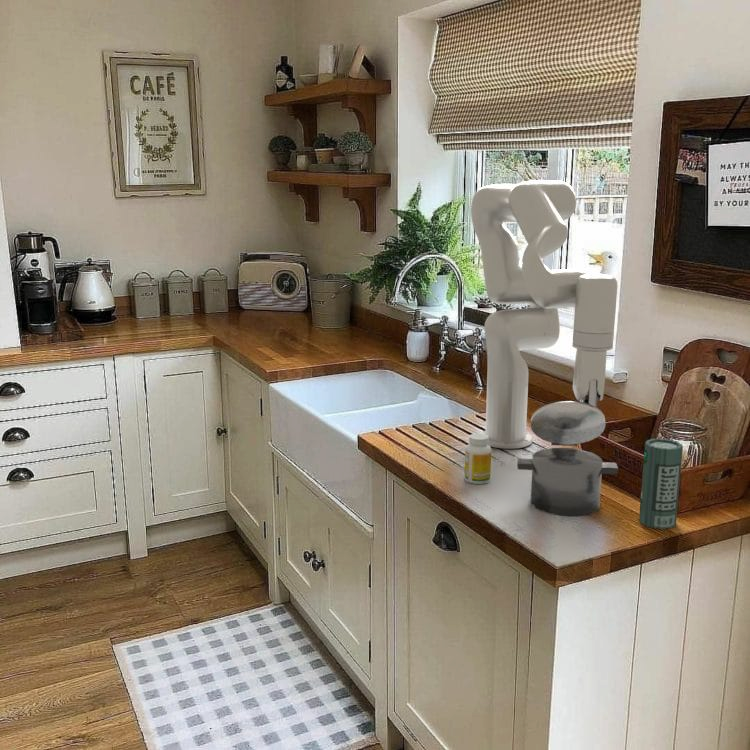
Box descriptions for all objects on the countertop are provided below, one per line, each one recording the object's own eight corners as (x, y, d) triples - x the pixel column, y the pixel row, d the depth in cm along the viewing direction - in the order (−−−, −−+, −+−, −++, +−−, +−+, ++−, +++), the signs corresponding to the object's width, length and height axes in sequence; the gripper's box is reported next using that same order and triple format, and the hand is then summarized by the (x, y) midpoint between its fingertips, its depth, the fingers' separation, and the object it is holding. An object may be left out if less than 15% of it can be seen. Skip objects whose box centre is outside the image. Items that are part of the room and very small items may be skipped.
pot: (515, 488, 167) (517, 445, 165) (609, 492, 164) (612, 450, 162) (516, 513, 155) (518, 467, 152) (619, 518, 152) (622, 472, 150)
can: (664, 514, 154) (671, 437, 150) (681, 527, 148) (688, 448, 145) (634, 516, 153) (639, 439, 150) (649, 530, 147) (656, 450, 144)
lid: (528, 445, 166) (528, 434, 167) (600, 448, 164) (599, 437, 165) (533, 404, 154) (532, 393, 155) (610, 406, 152) (609, 395, 153)
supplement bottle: (459, 480, 171) (460, 436, 169) (474, 473, 175) (475, 430, 173) (480, 486, 168) (481, 441, 166) (495, 479, 172) (497, 435, 169)
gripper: (569, 331, 165) (563, 418, 170) (577, 347, 151) (570, 442, 156) (607, 332, 164) (601, 420, 169) (619, 348, 150) (611, 444, 155)
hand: (586, 430), depth 162 cm, fingers closed
